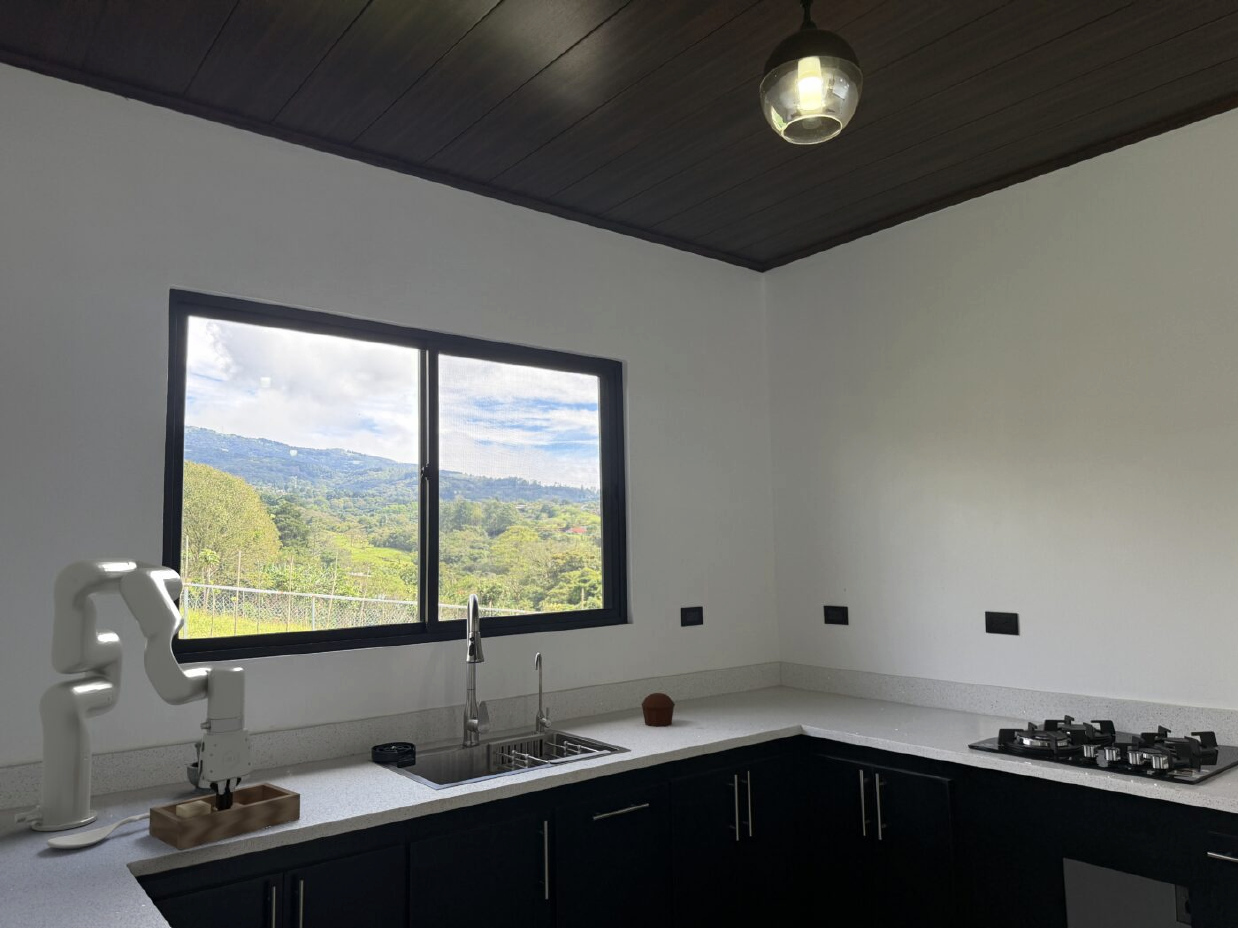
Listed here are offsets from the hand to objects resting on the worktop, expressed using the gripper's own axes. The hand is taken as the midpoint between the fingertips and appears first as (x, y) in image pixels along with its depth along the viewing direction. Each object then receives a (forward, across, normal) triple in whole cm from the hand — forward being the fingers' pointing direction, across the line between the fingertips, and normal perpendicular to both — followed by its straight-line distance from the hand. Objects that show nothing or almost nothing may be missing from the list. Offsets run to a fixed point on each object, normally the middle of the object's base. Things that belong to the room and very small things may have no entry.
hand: (224, 810), depth 191 cm
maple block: (+1, -7, 0) cm, 7 cm away
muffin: (+5, +144, -3) cm, 144 cm away
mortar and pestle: (+4, +11, +36) cm, 38 cm away
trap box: (+4, +2, +3) cm, 5 cm away
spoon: (+5, -13, +16) cm, 21 cm away
